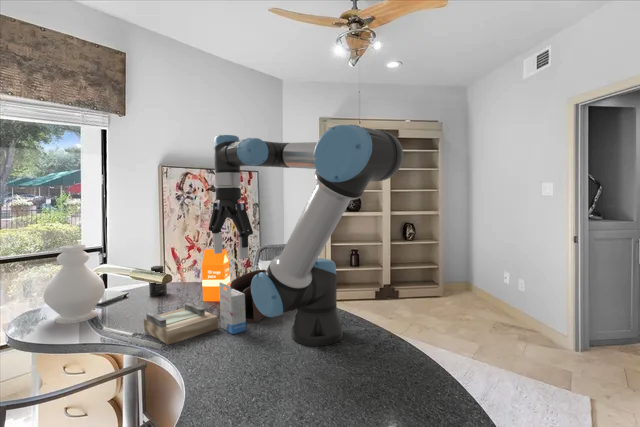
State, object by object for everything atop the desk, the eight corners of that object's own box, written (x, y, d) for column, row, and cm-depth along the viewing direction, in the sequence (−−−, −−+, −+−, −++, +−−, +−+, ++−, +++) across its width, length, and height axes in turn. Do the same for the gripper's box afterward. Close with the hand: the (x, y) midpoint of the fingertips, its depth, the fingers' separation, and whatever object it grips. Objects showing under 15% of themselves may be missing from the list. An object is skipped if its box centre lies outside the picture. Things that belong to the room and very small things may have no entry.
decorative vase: (43, 316, 131) (38, 246, 130) (100, 305, 143) (96, 241, 141) (48, 330, 118) (43, 252, 116) (111, 317, 129) (107, 246, 128)
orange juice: (209, 295, 154) (208, 247, 153) (230, 295, 154) (229, 247, 152) (202, 301, 146) (200, 251, 145) (224, 301, 146) (223, 250, 144)
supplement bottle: (147, 295, 157) (145, 266, 156) (163, 291, 161) (162, 264, 160) (152, 298, 152) (151, 269, 151) (169, 294, 156) (168, 266, 155)
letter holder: (230, 319, 126) (229, 278, 125) (265, 302, 144) (264, 266, 143) (254, 323, 121) (253, 281, 121) (287, 306, 139) (286, 268, 138)
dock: (217, 328, 117) (217, 309, 117) (168, 344, 105) (167, 324, 105) (192, 317, 128) (191, 300, 127) (144, 331, 116) (143, 312, 116)
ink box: (247, 330, 115) (245, 283, 114) (232, 335, 112) (230, 286, 111) (234, 323, 121) (232, 278, 120) (220, 327, 118) (218, 281, 117)
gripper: (263, 186, 108) (265, 258, 110) (216, 187, 125) (218, 250, 126) (242, 186, 103) (244, 262, 104) (195, 187, 119) (198, 253, 121)
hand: (230, 255), depth 115 cm, fingers open, 13 cm apart
